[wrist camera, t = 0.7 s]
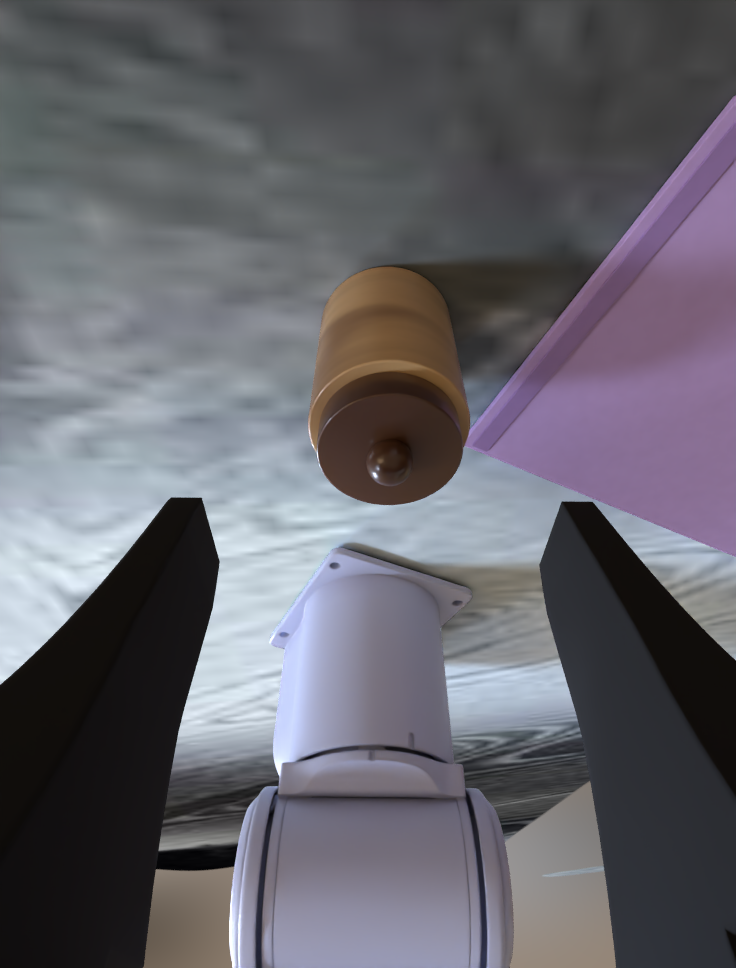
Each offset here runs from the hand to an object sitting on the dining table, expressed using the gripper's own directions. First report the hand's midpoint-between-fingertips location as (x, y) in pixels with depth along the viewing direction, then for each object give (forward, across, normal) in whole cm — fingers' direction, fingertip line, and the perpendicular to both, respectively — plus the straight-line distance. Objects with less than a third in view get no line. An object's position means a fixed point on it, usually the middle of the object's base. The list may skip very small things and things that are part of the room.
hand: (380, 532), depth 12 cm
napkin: (+10, -15, +4) cm, 19 cm away
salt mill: (+10, 0, +1) cm, 10 cm away
